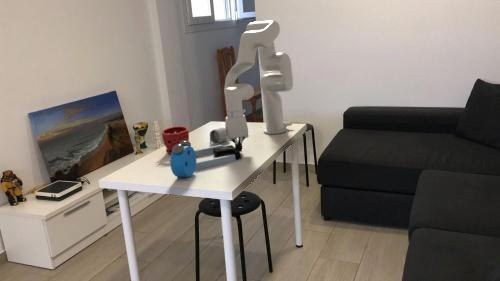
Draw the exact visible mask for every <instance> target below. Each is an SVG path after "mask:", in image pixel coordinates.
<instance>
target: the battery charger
mask: <svg viewBox="0 0 500 281" xmlns="http://www.w3.org/2000/svg"><path fill="white" fill-rule="evenodd" d="M213 152H214V153H213V155H214V156H213V157H214V158H218V157H223V156H227V155H232V154H235V158H236V161H238V160H241V159H242V156H241V152H240V151H239V150H237V149H236V148H235V145H232V144H230V145H226V146H223V147H219V148H214V149H213Z"/></svg>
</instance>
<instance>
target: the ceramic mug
mask: <svg viewBox="0 0 500 281" xmlns="http://www.w3.org/2000/svg"><path fill="white" fill-rule="evenodd" d="M209 141H210V142H211V143H213V144H214V145H220V144H222V143H223V142H226V141H227V137H226V132H225V127H219V128H216V129H213V130H211V131H210V132H209Z"/></svg>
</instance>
